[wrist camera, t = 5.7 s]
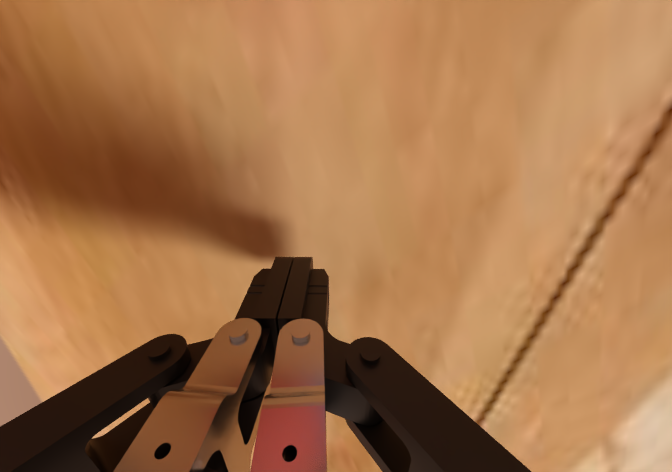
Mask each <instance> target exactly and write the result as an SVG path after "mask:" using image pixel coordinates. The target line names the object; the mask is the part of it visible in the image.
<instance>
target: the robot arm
mask: <svg viewBox="0 0 672 472" xmlns="http://www.w3.org/2000/svg"><path fill="white" fill-rule="evenodd" d="M328 315H329V277H328V275H327V273H326V272H325V270H324V269H313V259H312V257H276V258H275V260H274V263H273V265H272V268H271V269H262V270H261V271H260V272H259V273H257V274H256V275H255V276H254V278H253V280H252V282H251V285H250V287H249V289H248V291H247V294H246V296H245V298H244V300H243V302H242V304H241V307H240V309H239V311H238V313H237V315H236V317H235V320H232V321H230V322H228V323H226V324H225V325H224V326H222V327H221V328H220V329H219V330H218V332H217V333H216V335H215V337H214V338H212V339H209V340H205V341H201V342H197V343H193V344H189V345H187V343H186V340H185V339H184V338H183V337H182V336H180V335H177V334H167V335H163V336H159V337H157V338H154V339H153V340H151V341H149V342H147V343H145V344H144V345H142V346H140V347H138V348H137V349H135V350H133V351H131V352H130V353H128V354H126V355H124V356H123V357H121V358H119V359H117V360H116V361H114V362H112V363H110V364H109V365H107V366H105V367H103V368H102V369H100V370H98V371H97V372H95V373H93V374H91V375H90V376H88V377H86V378H84V379H83V380H81V381H79V382H77V383H76V384H74V385H72V386H70V387H69V388H67V389H65V390H63V391H62V392H60V393H58V394H56V395H55V396H53V397H51V398H49V399H48V400H46V401H44V402H42V403H41V404H39V405H37V406H35V407H34V408H32V409H30V410H29V411H27V412H25V413H23V414H22V415H20V416H18V417H16V418H15V419H13V420H11V421H9V422H8V423H6V424H4V425H2V426H1V427H0V472H327V445H326V411H328V412H330V413H333V414H335V415H338V416H340V417H343V418H345V420H346V422H347V424H348V426H349V427H350V429H351V430H352V431H353V433H354V434H355V435H356V437H357V438H358V439H359V441H360V442H361V443H362V445H363V446H364V447H365V449H366V450H367V451H368V453H369V454H370V455H371V457H372V458H373V459H374V461H375V462H376V463H377V465H378V466H379V467H380V469H381V470H382V471H383V472H531V471H530V470H529V469H528V468H527V467H525V466H524V465H523V464H522V463H521V462H520V461H519V460H518V459H516V458H515V457H514V456H513V455H512V454H511V453H510V452H508V451H507V450H506V449H505V448H504V447H503V446H502V445H501V444H499V443H498V442H497V441H496V440H495V439H494V438H493V437H491V436H490V435H489V434H488V433H487V432H486V431H485V430H484V429H482V428H481V427H480V426H479V425H478V424H477V423H476V422H474V421H473V420H472V419H471V418H470V417H469V416H468V415H467V414H465V413H464V412H463V411H462V410H461V409H460V408H459V407H457V406H456V405H455V404H454V403H453V402H452V401H451V400H450V399H448V398H447V397H446V396H445V395H444V394H443V393H442V392H440V391H439V390H438V389H437V388H436V387H435V386H434V385H433V384H431V383H430V382H429V381H428V380H427V379H426V378H425V377H423V376H422V375H421V374H420V373H419V372H418V371H417V370H416V369H414V368H413V367H412V366H411V365H410V364H409V363H408V362H406V361H405V360H404V359H403V358H402V357H401V356H400V355H399V354H397V353H396V352H395V351H394V350H393V349H392V348H391V347H389V346H388V345H387V344H386V343H385V342H383V341H381V340H379V339H376V338H371V337H364V338H360V339H357V340H355V341H353V342H352V343H351V344H348V343H345V342H342V341H339V340H337V339H335V338H334V337H333V336H332V335H331V334H330V333H329V332H328ZM271 377H272V380H271ZM270 381H271V383H270ZM147 398H148V399H149V401H150V403H149V404H147V405H146V406H144V407H143V408H141V409H140V410H139V411H137V412H136V413H134V414H133V415H132V416H130V417H129V418H127V419H126V420H125V421H123V422H122V423H120V424H119V425H118V426H116V427H115V428H113V429H112V430H111V431H109V432H108V433H106V434H105V435H103V436H101V437H98V438H94V439H91V438H92V437H93V436H94V435H95V434H97V433H98V432H99V431H101V430H102V429H104V428H105V427H107V426H108V425H109V424H111V423H112V422H114V421H115V420H117V419H118V418H119V417H121V416H122V415H124V414H125V413H127V412H128V411H129V410H131V409H132V408H134V407H135V406H137V405H138V404H139V403H141V402H142V401H144V400H145V399H147ZM256 436H257V437H256ZM255 439H256V443H255V448H254V454H253V460H252V466H251V471H250V460H251V453H252V449H253V445H254V442H255Z"/></svg>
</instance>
